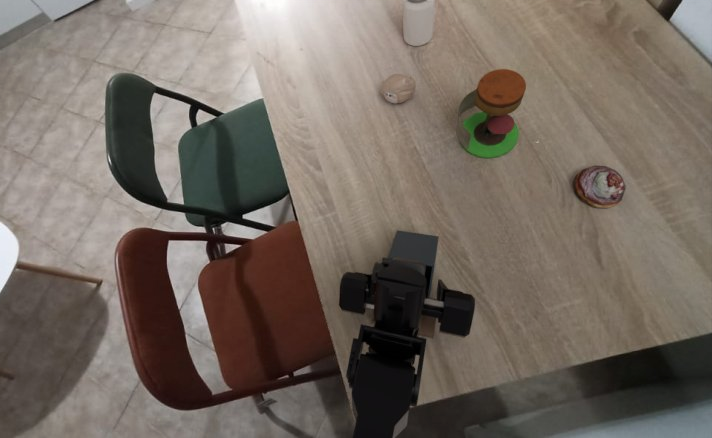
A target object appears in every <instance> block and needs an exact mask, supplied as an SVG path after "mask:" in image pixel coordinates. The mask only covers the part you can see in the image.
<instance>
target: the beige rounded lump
mask: <svg viewBox="0 0 712 438" xmlns="http://www.w3.org/2000/svg"><path fill="white" fill-rule="evenodd" d="M415 91H416V81H415V78H414V77H412V75H409V76H408V75H405V74H402V73H394V74H391V75H390V76H388V77H387V78H386V79H385V80H384V81H383V82H382V84H381V85H380V92H381V94H382V95H383V96H384V98H385V99H386V101H387V102H389V103H391V104H402V103H404V102H406V101H408V100H409V99H411V98H412V97H413V95H414V94H415Z"/></svg>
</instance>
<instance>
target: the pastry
mask: <svg viewBox="0 0 712 438" xmlns="http://www.w3.org/2000/svg"><path fill="white" fill-rule="evenodd" d="M573 185H574V191H575V193H576V195H577V197H578V198H579V200H581V201H582V202H584V204H587V206H589V207H592V208H595V209H609V208H612V207H614V206H617V205H618V204H619V203H620V202H621V201H622V200H623V197H624V194H625V191H626V182H625V181H624V178H623V176H622V175H621V174H620V173H619V172H618V171H617V170H615V169H613V168H611V167H610V166H606V165H592V166H589V167H587V168H584V169H581V170H580V171H579V172H577V174H576V176H575V179H574V183H573Z"/></svg>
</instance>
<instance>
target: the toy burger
mask: <svg viewBox="0 0 712 438" xmlns="http://www.w3.org/2000/svg"><path fill="white" fill-rule="evenodd" d="M526 89H527V83H526V80H525V78H524V77H523V75H522V74H520V73H519V72H518V71H515V70H511V69H507V68H500V69H499V68H498V69H494V70H491V71H489V72H487V73H486V74H484V75H483V76H482V77H480V79H479V81H478V83H477V87H476V88H475V89H474V90H472V91H470V92H469V93H467V94H466V95H465V96H464V97H463V99H462V100H461V102H460V103H459V106H458V111H457V117H456V123H455V135H456V138H457V140H458V141H459V143H460V145H461V147H462V148H463V149H464V150H465V151H466V152H467V153H468V154H471V155H472V156H474V157H477V158H482V159H494V158H499V157H502V156H505V155H506V154H508V153H510V152H511V151H512V150H513V149H514V147H515V146H516V145H517V143H518V140H519V135H520V133H519V127H518V125H517V123H516V121H515V119H514V118H513V116H511V115H510V114H511V113H513V112H515V111H516V110H517V109H518V108H519V107H520V105H521V103H522V101H523V98H524V95H525V92H526ZM474 107H476V108H478V109H479V110H480V111H479V112H476V113H474V114H471V115H470V116H469V117H467V118H466V119H465V120H464V121H463V122H462V121H461V119H460V117H461V116H462V115H463V114H465V112H467V111H469V110H470V109H473V108H474Z"/></svg>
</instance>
